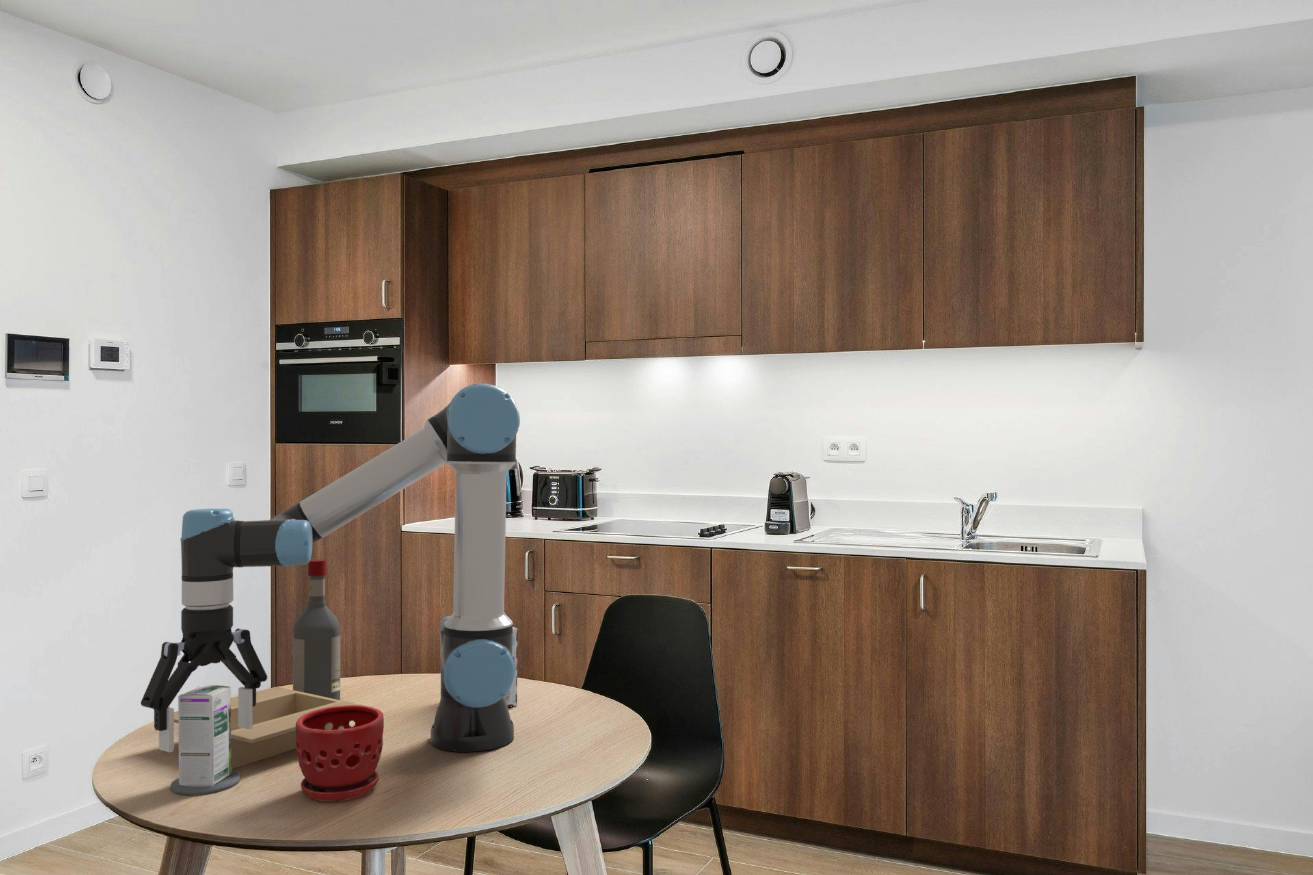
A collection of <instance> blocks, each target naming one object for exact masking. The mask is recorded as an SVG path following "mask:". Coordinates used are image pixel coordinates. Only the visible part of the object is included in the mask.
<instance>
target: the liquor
mask: <svg viewBox="0 0 1313 875" xmlns="http://www.w3.org/2000/svg"><path fill="white" fill-rule="evenodd" d="M327 564H328V563H327V559H320V558H319V559H311V560H310V562H309V563H307V576H309V591H308V593H309V595H308V596H309V597H308V602H307V606H306V608H305V609H304V610H303V611H302V612H301V614H300V615H298V617H297V618H296V620H294V623H293V625H292V626H293V627H292V628H293V629H292V630H293V632H292V634H293V636H292V637H293V638H292V690H294V691H299V692H304V693H308V694H313V695H318V696H322V697H327V698H332V699H336V700H341V640H342V639H341V635H342V634H341V630H342V628H341V624H340V622H339V619H338V618H337V617H336V615H335V614H334V613H333V612H332V610H330V609H329V607H328V606H327V602H326V576H327V575H328V573H327V571H328V569H327Z"/></svg>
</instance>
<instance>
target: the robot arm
mask: <svg viewBox="0 0 1313 875" xmlns="http://www.w3.org/2000/svg"><path fill="white" fill-rule="evenodd" d="M520 415H521V414H520V410H519V407H518V406H517V403H516V402H515V400H514V398H513V397H512V396H511V394H509V392H507V390H505V389H503V388H501V387H499V386H498V385H497V386H496V385H494V384H492V383H486V382H485V383H484V382H482V383H474V384H469V385H467V386H465V387H463V388H462V389H460V390H459V391H458V392H457V393H456V394H454V395H453V397H452V399H451V401H450V402H449V403H448V405H446V406H445V407H443V409H441V410H440V411H439V412H437V414H435V415H433V416H431V417H430V418H428V419H427V420H425V422H424V426H423V428H422V429H420V430H418V431H417V432H415V433H414V434H412V435H410V436H409V437H407V438H405V439H404V440H402V441H400V442H398V443H397V444H395V445H393V446H392V447H389V448H388V449H386V450H385V451H383V452H382V453H380V454H378V455H376V456H375V457H373V458H371V459H370V460H368V461H366V462H365V463H363V464H362V465H359V466H358V467H357V468H354V469H353V470H351V471H350V472H348V473H346V474H345V475H342V477H340V478H338V479H336V480H334V481H332V483H331V482H330V484H328V485H326V486H325V487H322V488H321V489H319V490H318V491H316V492H314V493H313V494H311V495H309V496H307V497H306V498H305V499H303V500H301V501H299V503H296V504H295V505H292V506H291V507H289V508H287V509H285V510H284V511H282V512H281V513H279V514H276V515H275V516H273V517H272V518H270V519H267V520H266V519H264V520H238V519H237V520H236V519H235V517H234V512H233V511H232V509H229V508H199V509H198V508H196V509H190V510H188V511H185V513H184V514H183V516H182V521H181V522H182V524H181V525H182V526H181V537H180V540H179V541H180V554H181V555H180V556H181V605H182V606H184V608H182V609H181V612H180V614H181V616H180V618H181V619H180V620H181V622H180V623H181V624H180V626H181V627H180V628H181V629H180V630H181V632H182V637H181V638H182V639H181V641H179V642H170V641H164V642H162V644H161V651H160V658H159V660H158V662H157V665H156V666H155V669H154V671H153V674H152V675H151V678H150V680H149V682H148V685H147V687H146V689H145V692H144V694H143V696H142V698H141V701H140V705H141V707H144V708H149V709H152V710H153V720H154V721H153V728H154V730H155V731H158V750H160V751H164V752H167V753H172V752H175V747H174V746H175V741H174V740H175V733H174V732H175V723H174V712H175V708H172V707H170V706H171V704H172V703H173V701H174V699H175V698H176V697H177V695H178V694H179V692H180V691H181V689H182V688H183V686H184V685H185V683H186V682H187V680H188V679H189V677H190V676H191V675H192V674H193V672H194V671H196V670H197V669H198V668H199V666H200V667H205V666H209V665H210V664H219V663H222V664H224V666H225V667H226V668H227V669H228V670H229V671H230V673H232V674H233V676H234V677H235V678H236V679H237V680H238V682H240V683H241V684H242V686H241V687H238V691H237V692H238V694H237V697H238V727H240V728H244V729H248V730H249V729H252V707H254V706H255V705H256V692H257V689H260V688H261V685H262V683H264V682H266V681H267V680H268V674H267V673H266V671H265V669H264V667H263V664H262V662H261V660H260V658H259V656H258V654H257V652H256V649H255V648H254V645H253V644H252V640H251V639H252V638H251V631H250V630H249V629H244V628H236V629H235V630H234V631H232V628H233V626H234V607H233V606H232V605H231V603H233V601H234V568H250V567H251V568H253V567H255V568H257V567H259V568H260V567H285V568H290V567H293V566H295V567H296V566H305V565H308V563H309V562H310V560H312V554H313V545H314V544H316V543H317V542H319V541H320V540H322V539H324V538H325V537H327V536H328V535H330V534H331V533H333V532H335V531H336V530H338V529H339V528H341V527H343V526H345V525H347V524H348V523H349V522H352V521H353V520H354V519H356V518H358V517H360V516H361V515H363V514H364V513H366V512H368V511H370V510H371V509H373V508H374V507H376V506H378V505H380V504H381V503H383V502H384V501H386V500H388V499H389V498H391V497H393V496H394V495H396V494H398V493H399V492H401V491H403V490H404V489H406V488H408V487H409V486H411V485H412V484H415V483H416V482H418V481H419V480H421V479H424V478H425V477H426V476H428V475H430V474H431V473H433V472H434V471H436V470H438V469H440V468H441V467H442V466H444V465H448V466H449V467H450V468H451V469H452V470H453V471H454V473H455V487H454V488H455V490H454V491H455V497H454V502H455V503H454V546H453V547H454V549H453V550H454V553H453V554H454V555H453V557H454V558H453V599H452V600H453V601H452V602H453V604H452V610H453V612H452V614H451V615H449V616H444V618H442V621H441V625H440V627H441V628H440V629H439V634H440V700H439V702H438V703H439V704H438V706H437V709H436V713H435V717H434V720H433V724H432V725H431V727H430V744H431V745H432V746H433V747H434V748H437V749H440V750H442V751H450V752H456V753H457V752H461V753H462V752H463V753H467V752H470V753H471V752H482V751H488V750H494V749H498V748H501V747H504V746H506V745H508V744H510V743H511V742H512V741H513V740H514V738H515V726H514V723H513V722H514V721H513V720H512V719H511V716H510V715H511V714H510V711H509V707H507V703H506V700H505V695H506V694H507V692H508V691H509V690H510V688H511V686H512V683H513V680H514V677H515V670H516V668H515V663H514V659H513V657H512V644H513V627H514V625H513V624H514V623H513V620H512V619H511V618H510V617H509V616H508V615H507V614H506V613H505V583H506V581H505V580H506V578H505V577H506V531H507V530H506V528H507V527H506V523H507V520H506V518H507V475H508V472H509V471H510V470H511V469H512V468H514V466H515V465H516V462H517V460H516V459H517V458H516V457H517V434H518V432H519V427H520V423H521V422H520V421H521V416H520ZM233 643H234V644H235V646H236V648H237V650H238V652H239V654H240V657H241V658H242V659H243V660H242V661H243V662H244V664H245V666H246V667H245V666H244V665H243V664H242V662H240V660H239V659H238V658H237V656H236V654H235V653H234V652H233V651H232V650H231V649H230V648H231V646H232V645H233ZM181 652H182V653H183V655H182V656H181ZM178 656H181V658H180V659H179V661H178V662H177V659H178ZM176 663H177V666H176V668H175V670H174V671H173V669H174V667H175V665H176ZM172 671H173V673H172Z"/></svg>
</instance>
